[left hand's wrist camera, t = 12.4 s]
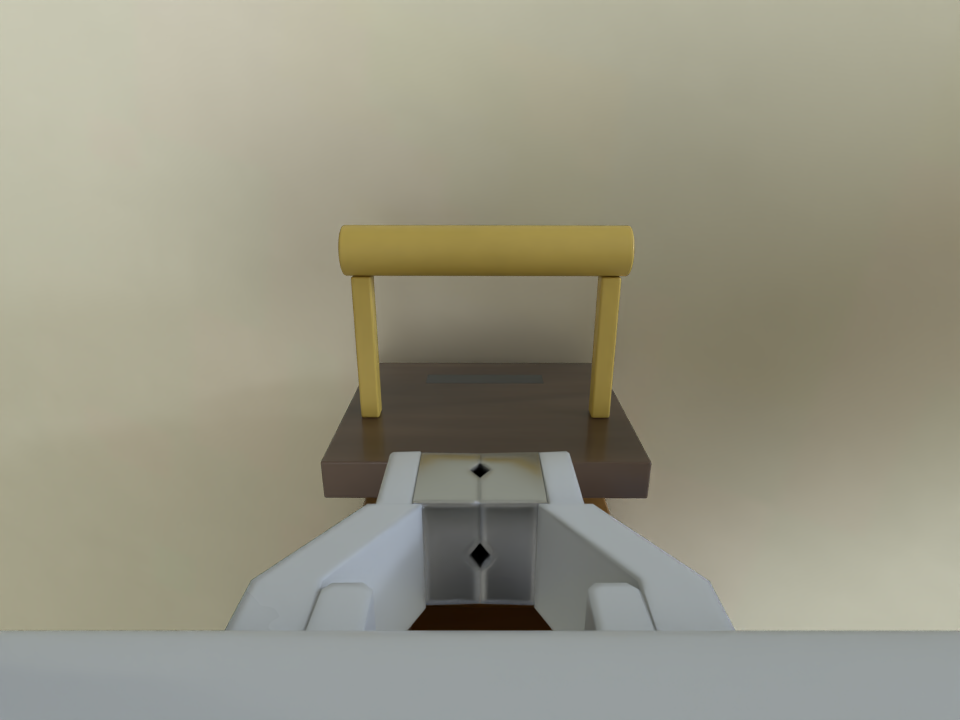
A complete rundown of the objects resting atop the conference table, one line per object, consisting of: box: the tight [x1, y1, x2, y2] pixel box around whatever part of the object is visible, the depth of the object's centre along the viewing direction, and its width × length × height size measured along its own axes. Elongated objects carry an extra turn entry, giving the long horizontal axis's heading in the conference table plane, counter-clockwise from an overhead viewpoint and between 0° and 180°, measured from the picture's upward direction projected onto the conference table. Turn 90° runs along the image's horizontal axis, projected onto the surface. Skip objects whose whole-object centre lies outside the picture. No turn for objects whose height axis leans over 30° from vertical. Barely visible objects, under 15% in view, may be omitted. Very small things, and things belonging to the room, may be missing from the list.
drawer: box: [321, 225, 651, 631], centre depth 21 cm, size 18×9×8 cm, turn 0°
